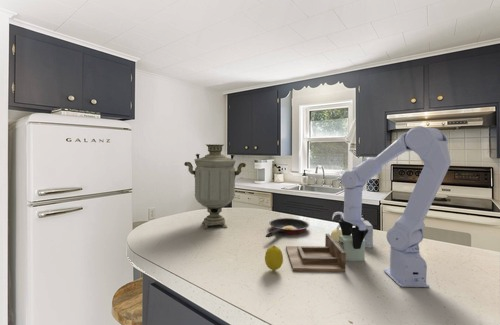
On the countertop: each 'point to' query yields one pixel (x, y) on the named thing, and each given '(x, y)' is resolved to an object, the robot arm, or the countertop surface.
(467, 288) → the countertop surface
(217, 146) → the samovar
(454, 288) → the countertop surface
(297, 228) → the frying pan
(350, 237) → the pale green block
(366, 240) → the medicine box
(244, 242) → the countertop surface
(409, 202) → the robot arm
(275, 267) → the lemon
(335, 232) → the yellow stemmed oval
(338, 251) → the brown wooden stand
